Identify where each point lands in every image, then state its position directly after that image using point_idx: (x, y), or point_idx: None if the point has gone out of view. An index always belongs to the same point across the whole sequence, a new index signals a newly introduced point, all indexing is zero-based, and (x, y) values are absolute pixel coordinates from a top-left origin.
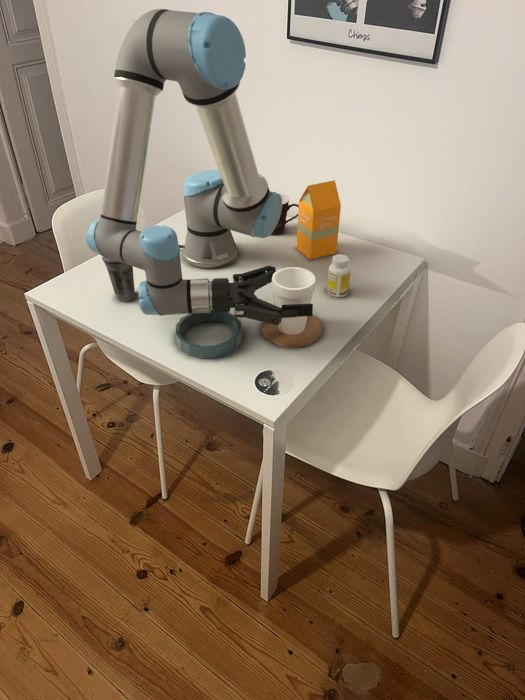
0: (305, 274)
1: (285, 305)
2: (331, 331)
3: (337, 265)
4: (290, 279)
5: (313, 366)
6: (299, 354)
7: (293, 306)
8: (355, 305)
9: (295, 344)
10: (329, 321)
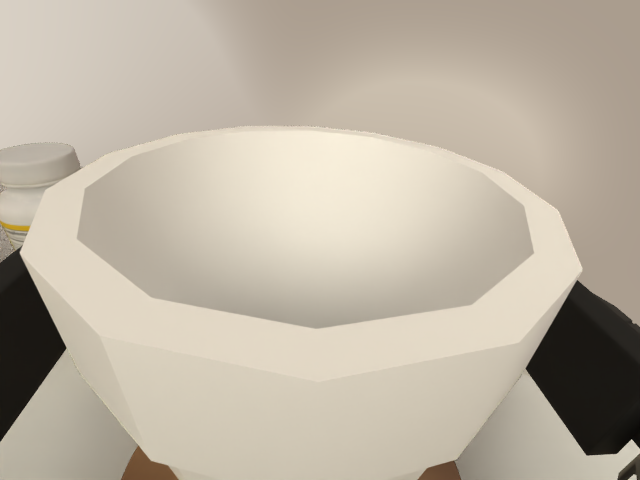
0: (212, 166)
1: (635, 347)
2: None
3: (60, 176)
4: (144, 287)
5: (542, 404)
6: (493, 457)
7: (591, 295)
8: None
9: (452, 466)
10: None
